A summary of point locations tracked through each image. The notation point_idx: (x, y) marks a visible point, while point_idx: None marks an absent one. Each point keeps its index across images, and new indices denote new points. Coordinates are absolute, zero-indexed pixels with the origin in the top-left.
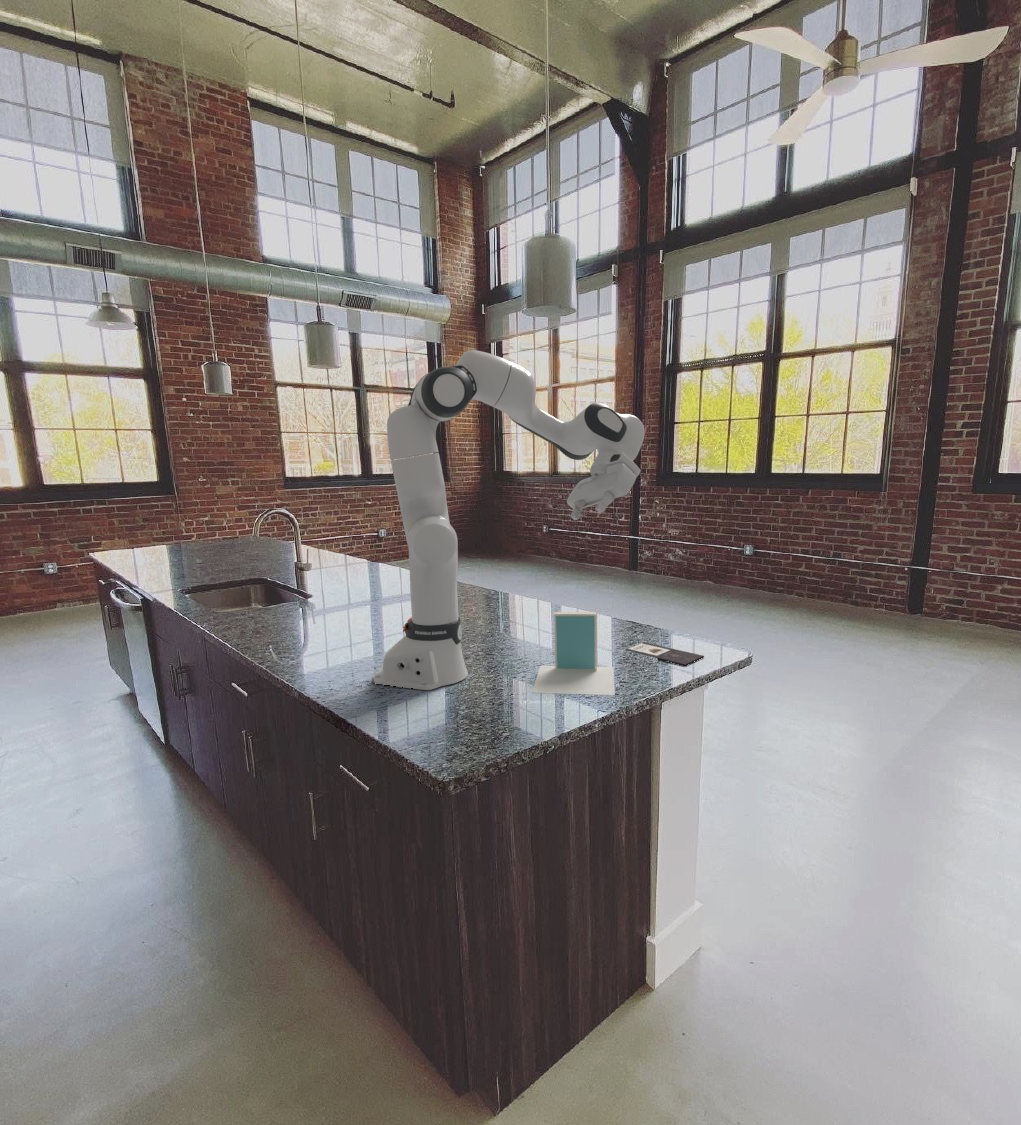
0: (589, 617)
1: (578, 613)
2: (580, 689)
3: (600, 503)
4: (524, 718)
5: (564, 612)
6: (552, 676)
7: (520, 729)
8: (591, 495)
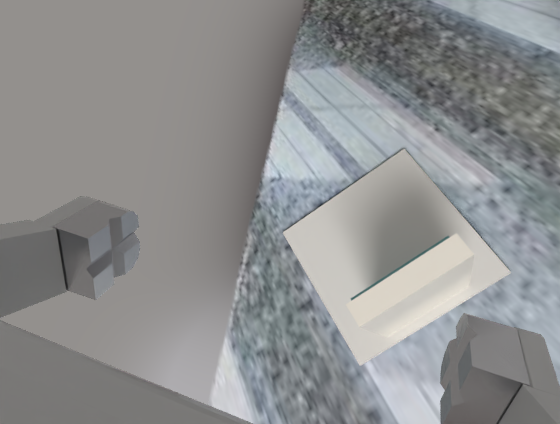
0: (362, 291)
1: (396, 282)
2: (342, 215)
3: (54, 213)
4: (350, 87)
5: (442, 267)
6: (432, 233)
7: (332, 65)
8: (148, 384)
